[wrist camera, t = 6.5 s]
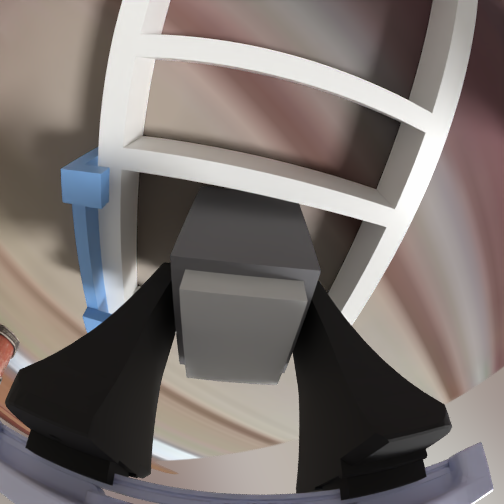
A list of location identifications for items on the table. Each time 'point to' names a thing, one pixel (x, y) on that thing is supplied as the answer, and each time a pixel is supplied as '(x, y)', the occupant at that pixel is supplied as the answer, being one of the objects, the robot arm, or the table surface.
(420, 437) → the robot arm
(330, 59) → the table surface
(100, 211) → the white cubby shelf
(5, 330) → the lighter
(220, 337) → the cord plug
